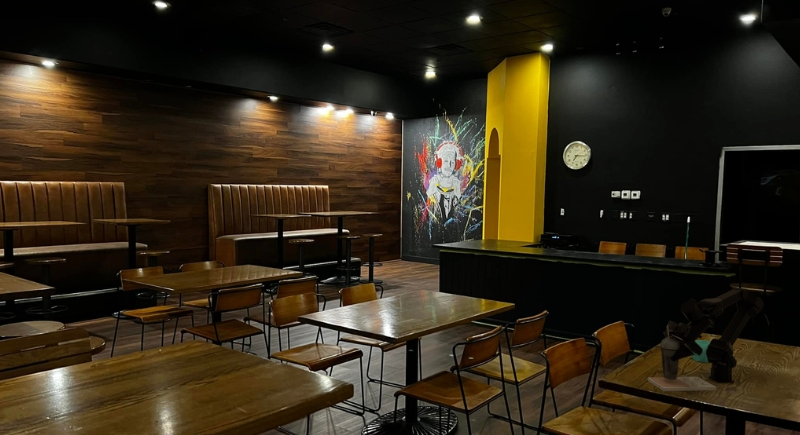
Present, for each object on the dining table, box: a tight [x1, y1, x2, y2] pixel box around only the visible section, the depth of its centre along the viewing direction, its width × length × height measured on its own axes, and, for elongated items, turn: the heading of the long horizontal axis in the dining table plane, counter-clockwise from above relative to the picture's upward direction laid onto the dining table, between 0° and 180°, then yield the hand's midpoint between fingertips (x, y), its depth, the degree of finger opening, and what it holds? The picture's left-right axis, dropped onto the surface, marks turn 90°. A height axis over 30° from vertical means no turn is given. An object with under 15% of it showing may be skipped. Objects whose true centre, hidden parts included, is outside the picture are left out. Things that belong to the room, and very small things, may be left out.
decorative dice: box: [691, 339, 711, 364], centre depth 253 cm, size 8×8×8 cm
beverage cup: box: [659, 324, 680, 380], centre depth 219 cm, size 7×7×20 cm
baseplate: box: [647, 376, 717, 392], centre depth 220 cm, size 20×12×2 cm, turn 93°
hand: (666, 357), depth 219 cm, fingers closed on beverage cup, 7 cm apart
